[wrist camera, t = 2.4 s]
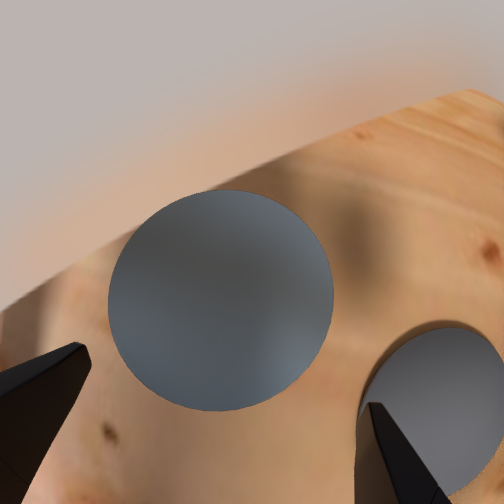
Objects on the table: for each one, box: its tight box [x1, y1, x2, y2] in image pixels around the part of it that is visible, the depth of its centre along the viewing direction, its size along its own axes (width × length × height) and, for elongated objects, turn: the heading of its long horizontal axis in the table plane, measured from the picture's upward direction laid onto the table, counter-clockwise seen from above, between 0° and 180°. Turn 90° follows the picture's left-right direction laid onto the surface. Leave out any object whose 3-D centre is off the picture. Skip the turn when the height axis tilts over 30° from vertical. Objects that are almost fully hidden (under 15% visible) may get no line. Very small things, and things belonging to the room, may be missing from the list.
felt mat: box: [356, 328, 504, 496], centre depth 15 cm, size 12×12×1 cm
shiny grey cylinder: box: [108, 190, 334, 411], centre depth 13 cm, size 6×6×12 cm
